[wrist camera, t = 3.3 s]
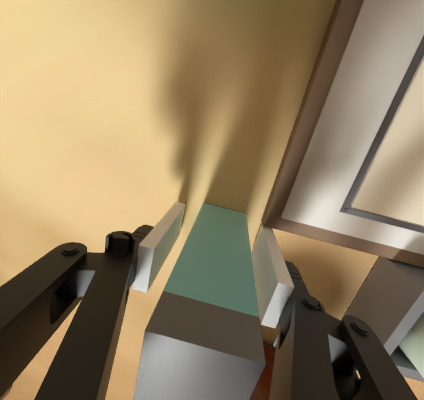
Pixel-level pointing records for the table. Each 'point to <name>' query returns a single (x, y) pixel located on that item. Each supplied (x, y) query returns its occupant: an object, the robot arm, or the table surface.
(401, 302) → the button frame
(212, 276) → the grey and mint block
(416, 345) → the button
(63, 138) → the table surface
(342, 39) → the picture frame
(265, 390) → the mug
